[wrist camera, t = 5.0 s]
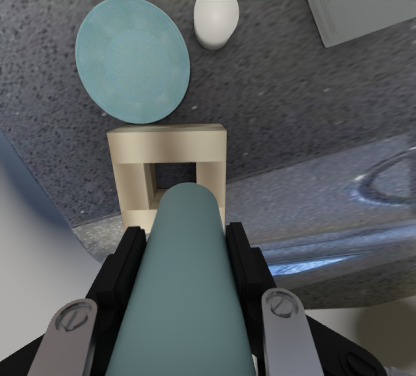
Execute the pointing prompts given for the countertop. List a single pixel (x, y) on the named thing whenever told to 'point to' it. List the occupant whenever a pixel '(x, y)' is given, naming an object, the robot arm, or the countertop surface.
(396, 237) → the countertop surface
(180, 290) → the teal dowel
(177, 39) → the saucer
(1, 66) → the countertop surface
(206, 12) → the short off-white stub
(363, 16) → the supplement box
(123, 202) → the birch hole block
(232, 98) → the countertop surface
